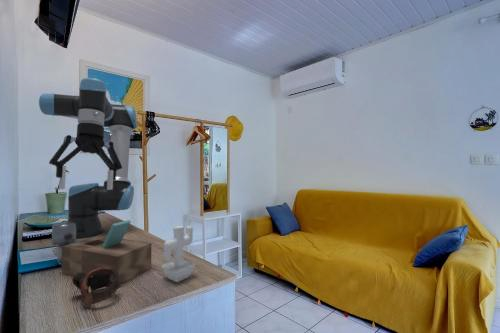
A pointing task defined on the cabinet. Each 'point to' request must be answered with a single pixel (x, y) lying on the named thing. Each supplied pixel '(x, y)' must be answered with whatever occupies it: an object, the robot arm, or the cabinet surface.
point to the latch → (116, 233)
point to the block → (107, 257)
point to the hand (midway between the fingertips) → (87, 189)
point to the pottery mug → (97, 284)
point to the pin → (63, 236)
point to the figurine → (178, 255)
